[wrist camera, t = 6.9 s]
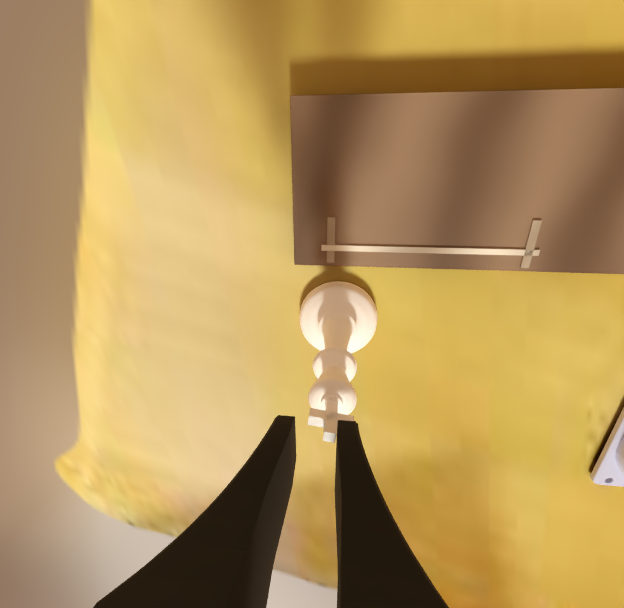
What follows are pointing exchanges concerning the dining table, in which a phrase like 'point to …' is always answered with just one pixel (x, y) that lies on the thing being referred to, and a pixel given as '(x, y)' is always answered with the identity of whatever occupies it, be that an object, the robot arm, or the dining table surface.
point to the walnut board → (460, 180)
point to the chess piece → (335, 349)
